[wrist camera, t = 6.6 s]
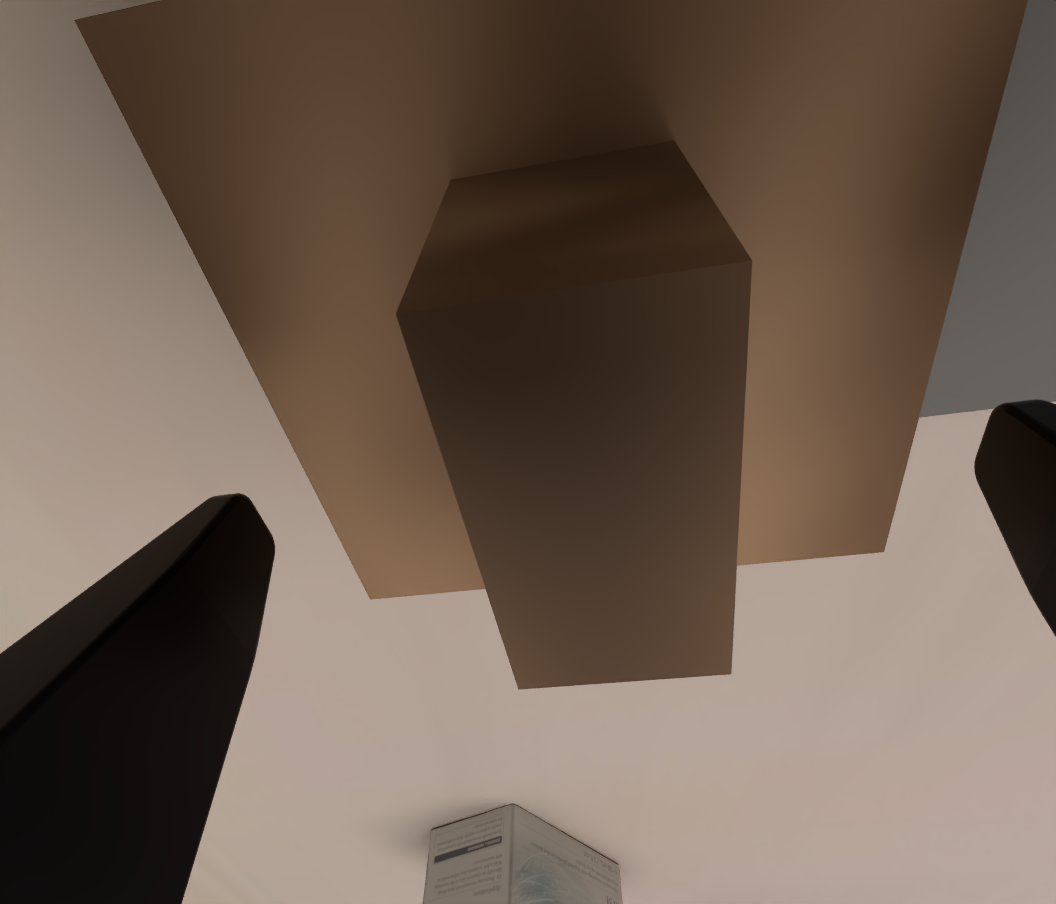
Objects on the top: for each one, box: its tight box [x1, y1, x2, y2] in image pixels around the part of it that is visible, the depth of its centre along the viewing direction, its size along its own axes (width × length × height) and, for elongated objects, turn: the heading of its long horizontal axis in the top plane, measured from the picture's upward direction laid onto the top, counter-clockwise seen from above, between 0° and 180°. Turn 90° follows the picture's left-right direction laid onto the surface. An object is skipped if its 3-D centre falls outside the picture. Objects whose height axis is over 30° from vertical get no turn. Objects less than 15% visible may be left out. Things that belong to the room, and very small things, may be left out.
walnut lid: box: [75, 0, 1028, 689], centre depth 9 cm, size 11×11×5 cm
